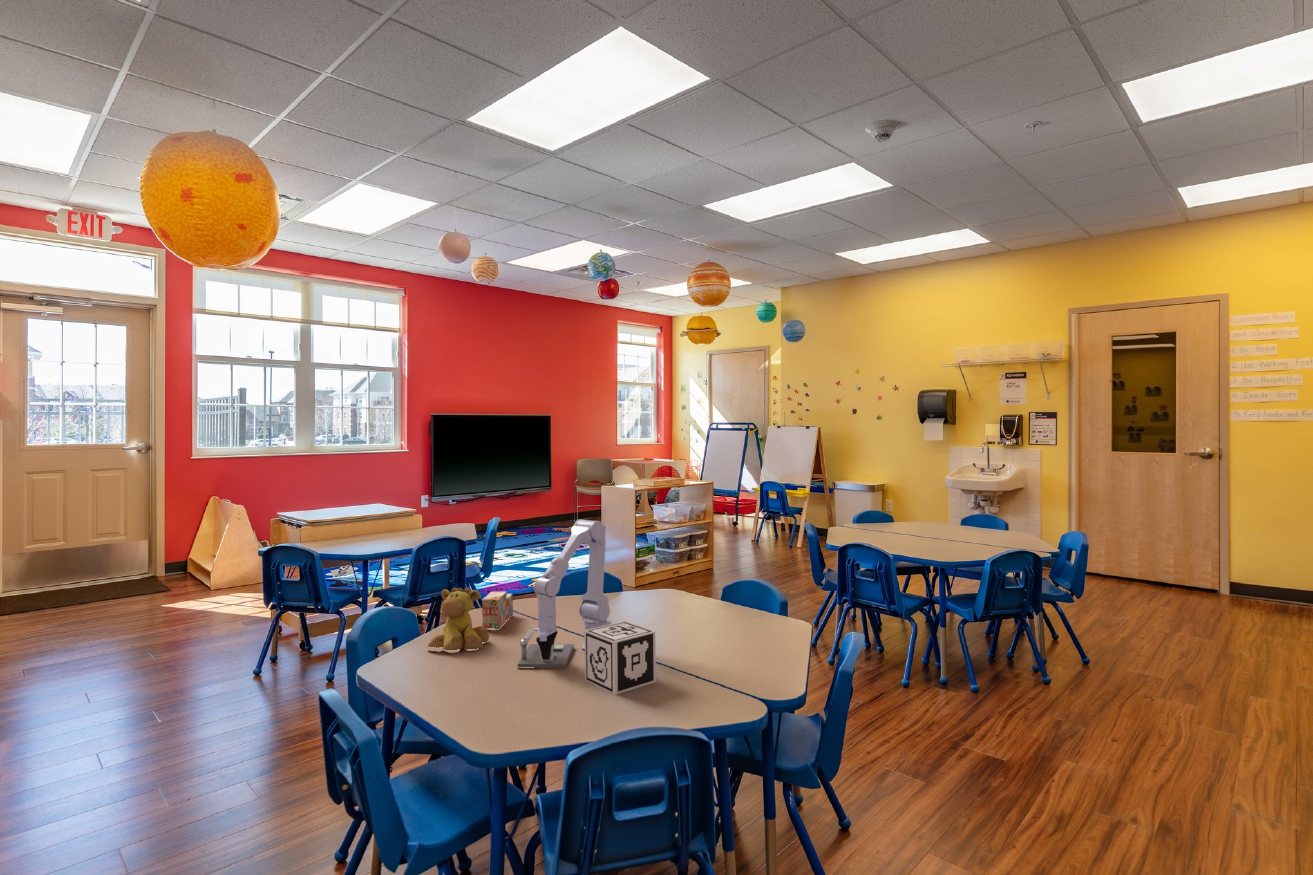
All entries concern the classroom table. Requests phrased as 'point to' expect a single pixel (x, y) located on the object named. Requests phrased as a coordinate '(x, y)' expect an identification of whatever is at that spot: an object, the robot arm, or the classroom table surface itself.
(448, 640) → the giraffe plush
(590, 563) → the robot arm
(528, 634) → the ball-topped lever
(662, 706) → the classroom table surface
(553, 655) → the plug
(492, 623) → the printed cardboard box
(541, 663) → the socket plate
